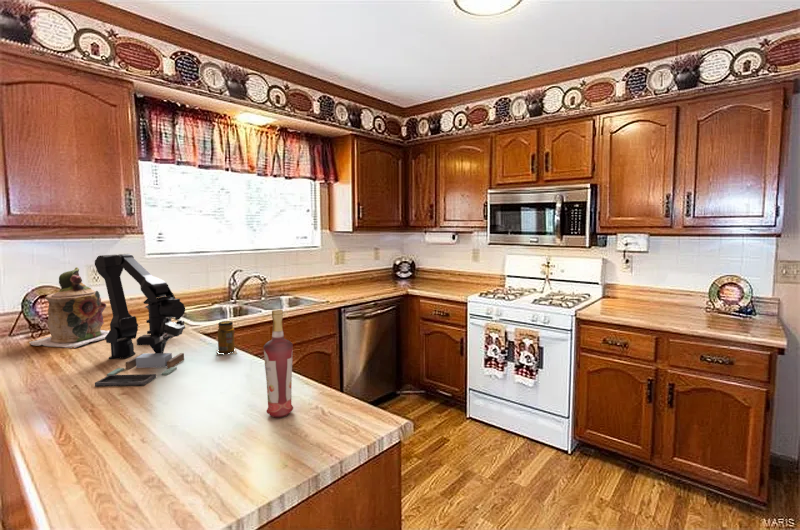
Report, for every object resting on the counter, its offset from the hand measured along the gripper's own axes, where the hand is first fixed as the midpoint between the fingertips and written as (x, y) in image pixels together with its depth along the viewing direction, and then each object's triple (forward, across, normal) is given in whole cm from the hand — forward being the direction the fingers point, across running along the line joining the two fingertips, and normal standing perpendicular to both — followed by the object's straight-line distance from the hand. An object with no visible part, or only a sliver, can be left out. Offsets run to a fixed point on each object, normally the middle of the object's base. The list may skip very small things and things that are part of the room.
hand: (160, 357), depth 154 cm
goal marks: (+2, -11, 0) cm, 12 cm away
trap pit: (+2, -20, 0) cm, 20 cm away
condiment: (+2, +11, -20) cm, 23 cm away
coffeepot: (+2, +36, +16) cm, 39 cm away
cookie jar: (+2, +33, +53) cm, 62 cm away
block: (+2, -4, 0) cm, 4 cm away
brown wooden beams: (+2, -3, 0) cm, 3 cm away
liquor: (+2, -46, -55) cm, 72 cm away
